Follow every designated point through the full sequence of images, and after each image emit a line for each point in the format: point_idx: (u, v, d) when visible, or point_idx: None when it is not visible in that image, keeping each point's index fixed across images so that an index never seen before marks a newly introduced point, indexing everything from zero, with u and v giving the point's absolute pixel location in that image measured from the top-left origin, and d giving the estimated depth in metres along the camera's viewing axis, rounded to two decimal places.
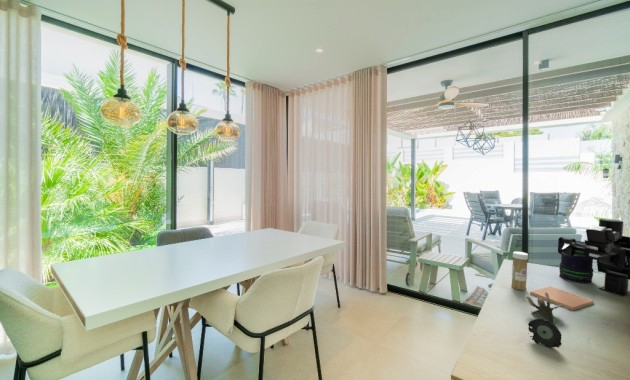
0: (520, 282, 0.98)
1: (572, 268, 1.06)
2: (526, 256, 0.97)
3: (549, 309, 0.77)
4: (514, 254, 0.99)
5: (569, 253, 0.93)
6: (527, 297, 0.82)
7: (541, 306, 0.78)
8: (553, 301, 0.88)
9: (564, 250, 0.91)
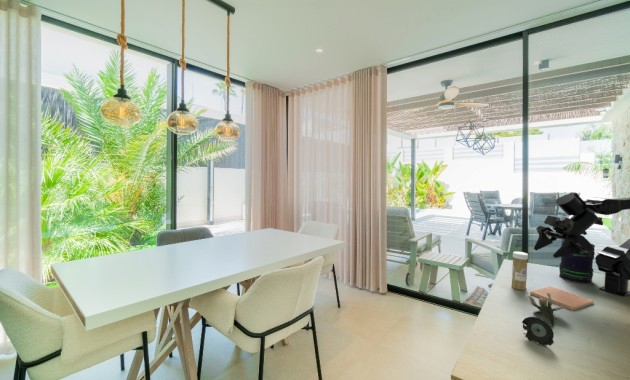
0: (520, 282, 0.98)
1: (572, 268, 1.06)
2: (526, 256, 0.97)
3: (550, 309, 0.77)
4: (514, 254, 0.99)
5: (547, 243, 1.03)
6: (529, 297, 0.82)
7: (542, 306, 0.78)
8: (553, 301, 0.88)
9: (537, 247, 1.03)
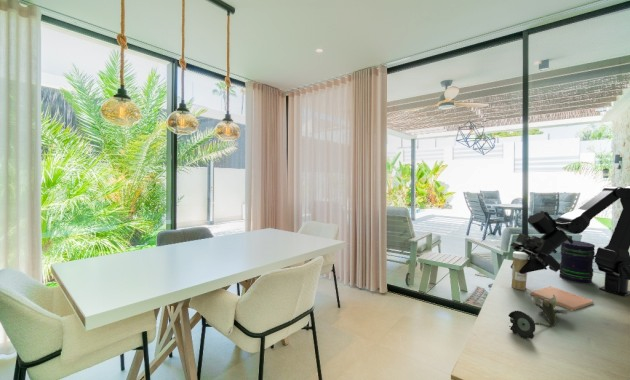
0: (520, 282, 0.98)
1: (572, 268, 1.06)
2: (526, 256, 0.97)
3: (552, 310, 0.76)
4: (514, 254, 0.99)
5: None
6: (535, 297, 0.82)
7: (543, 306, 0.78)
8: None
9: None
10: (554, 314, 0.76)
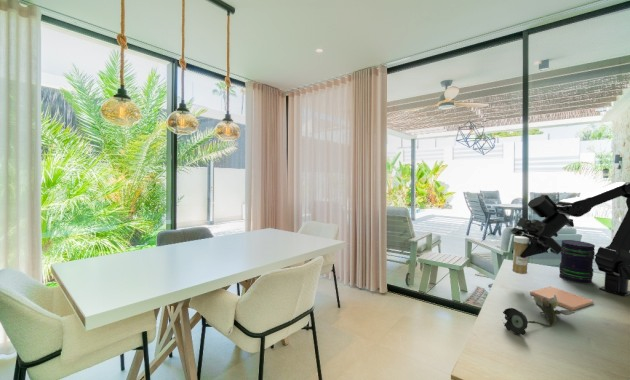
0: (521, 267, 0.98)
1: (572, 268, 1.06)
2: (527, 240, 0.97)
3: (551, 310, 0.76)
4: (515, 238, 0.99)
5: None
6: (537, 297, 0.82)
7: (543, 306, 0.78)
8: None
9: None
10: (554, 314, 0.76)
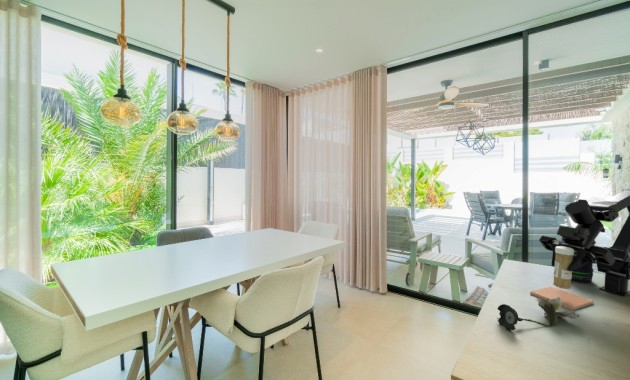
0: (567, 281, 0.87)
1: None
2: (573, 251, 0.87)
3: (552, 311, 0.76)
4: (560, 250, 0.88)
5: None
6: (542, 298, 0.81)
7: (544, 306, 0.77)
8: None
9: (554, 263, 0.91)
10: (555, 315, 0.75)
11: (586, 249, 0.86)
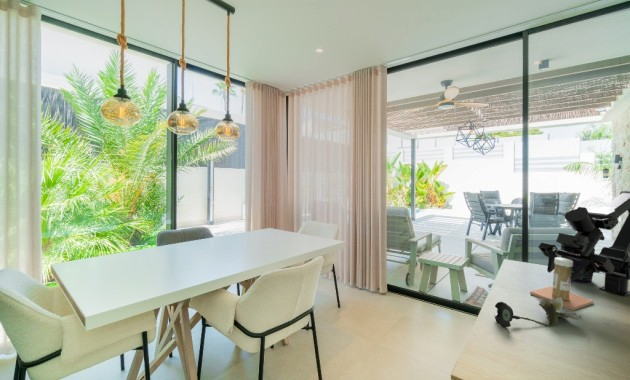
0: (566, 292, 0.88)
1: (572, 268, 1.06)
2: (572, 263, 0.87)
3: (552, 311, 0.76)
4: (559, 261, 0.88)
5: None
6: (544, 299, 0.81)
7: (545, 306, 0.77)
8: None
9: (550, 269, 0.92)
10: (555, 315, 0.75)
11: (585, 257, 0.87)
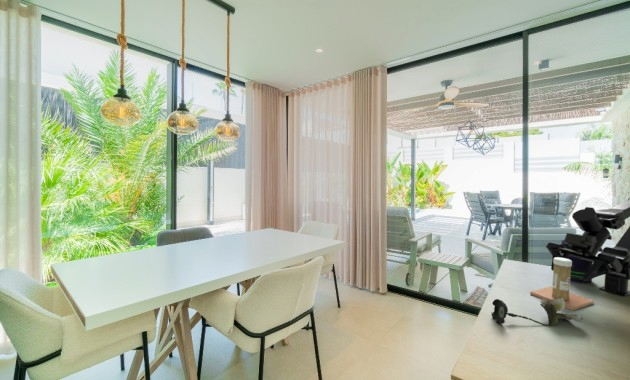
0: (566, 292, 0.88)
1: (572, 268, 1.06)
2: (571, 262, 0.87)
3: (552, 311, 0.76)
4: (558, 261, 0.88)
5: None
6: (547, 300, 0.81)
7: (545, 306, 0.77)
8: None
9: None
10: (555, 316, 0.75)
11: (593, 256, 0.88)
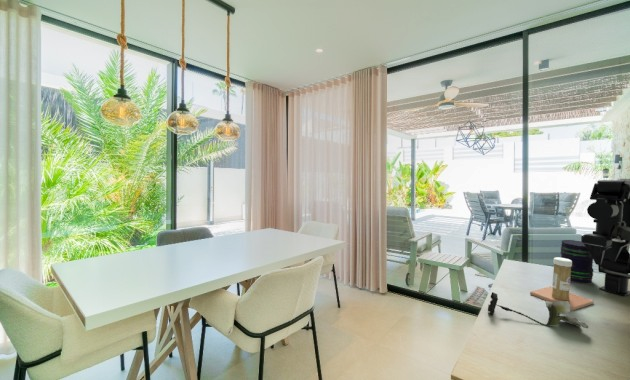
0: (566, 292, 0.88)
1: (572, 268, 1.06)
2: (571, 262, 0.87)
3: (553, 312, 0.75)
4: (558, 261, 0.88)
5: None
6: None
7: (548, 307, 0.77)
8: (553, 301, 0.88)
9: None
10: (555, 317, 0.74)
11: None
